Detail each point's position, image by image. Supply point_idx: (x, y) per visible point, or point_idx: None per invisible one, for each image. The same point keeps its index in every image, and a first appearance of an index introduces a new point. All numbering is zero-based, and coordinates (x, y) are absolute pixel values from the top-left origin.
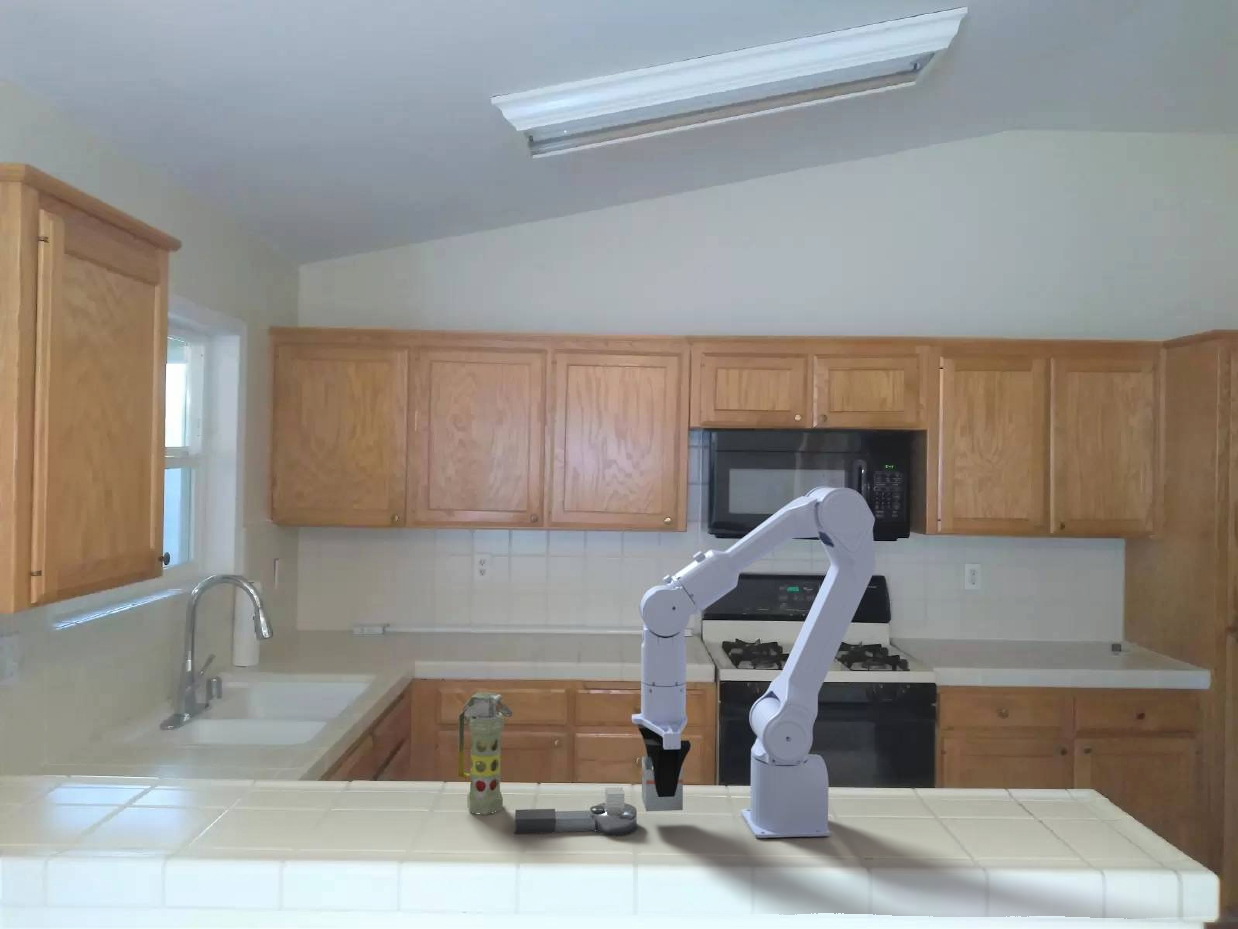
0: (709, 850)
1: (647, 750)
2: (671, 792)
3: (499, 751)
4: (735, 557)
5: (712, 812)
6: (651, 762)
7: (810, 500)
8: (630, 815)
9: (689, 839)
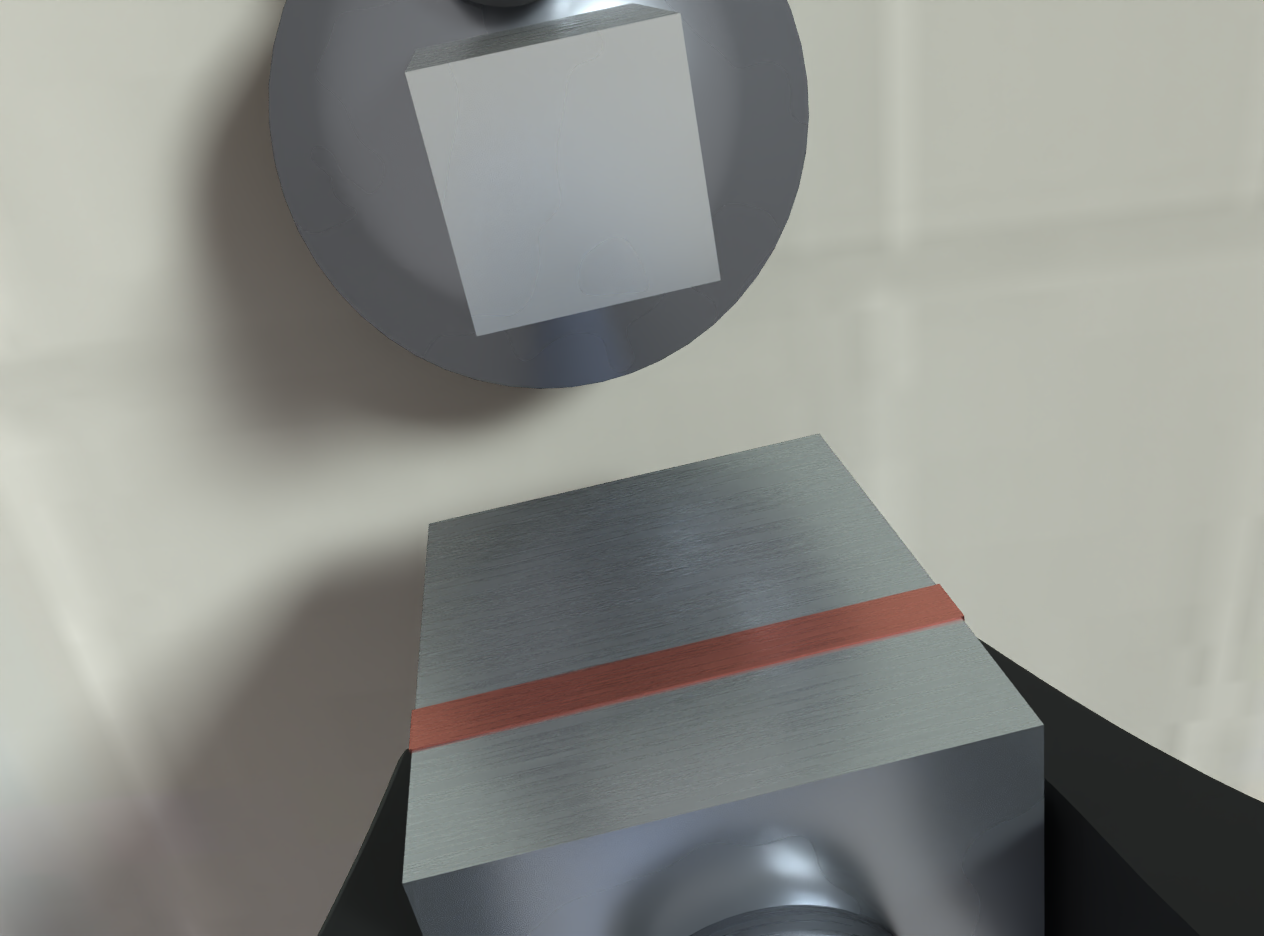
0: (246, 871)
1: (1130, 878)
2: None
3: None
4: None
5: None
6: (769, 896)
7: None
8: (437, 338)
9: (400, 742)
